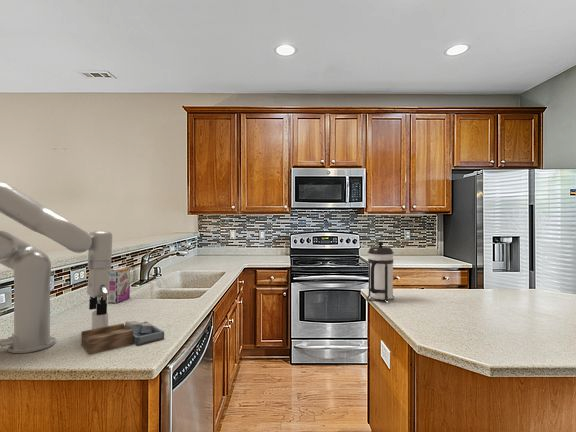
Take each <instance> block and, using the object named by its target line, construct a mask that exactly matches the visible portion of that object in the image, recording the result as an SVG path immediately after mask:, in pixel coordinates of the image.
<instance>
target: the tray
mask: <svg viewBox="0 0 576 432" xmlns="http://www.w3.org/2000/svg"><path fill="white" fill-rule="evenodd" d="M141 323H149V322H148V321H142V322H141ZM152 325H153V324H152ZM161 340H165V331H163V330H162V329H160V328H158V327H157V326H155V325H153V332H152V333H140V332H139V331H137V332H133V344H134V345H136V346H141V345H145V344H146V345H147V344H149V343H153V342H157V341H161Z"/></svg>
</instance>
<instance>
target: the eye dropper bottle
mask: <svg viewBox="0 0 576 432" xmlns="http://www.w3.org/2000/svg"><path fill="white" fill-rule="evenodd" d="M96 312H97V304H96V309H95V310H94V311H92V313H91V329H96V328H101V327H106V326H109V312H108V311H107V314H104V315H96Z"/></svg>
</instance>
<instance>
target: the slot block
mask: <svg viewBox="0 0 576 432" xmlns="http://www.w3.org/2000/svg"><path fill="white" fill-rule="evenodd" d="M124 326H125V323H122V322H121V323H118V324H117V323H116V324H112V325H111V324H110V325H108V326H106V327H101V328H96V329H92V328H91V329H88V330H83V331H82V330H81V331H80V332H81V335H80V336H81V338H80V339H81V341H80V343H81V346H82V348H83V349H84V350H85V351H86V352H87V353H88V355H93V354H97V353H100V352H101V353H102V352H105V351H109V350H112V349H113V350H114V349H118V348H121V347H125V346H129V345H133V344H134V343H133V330H132V329H130V330H125V329H124Z"/></svg>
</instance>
